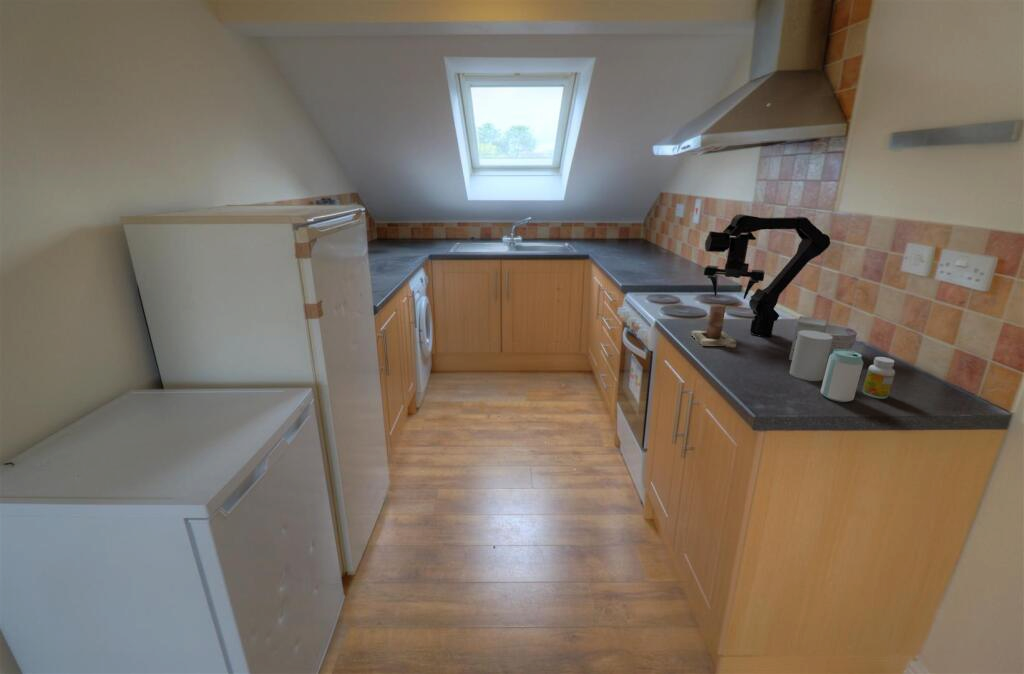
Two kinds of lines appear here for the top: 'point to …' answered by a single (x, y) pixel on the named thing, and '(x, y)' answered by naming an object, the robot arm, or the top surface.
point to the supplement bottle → (879, 378)
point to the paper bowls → (840, 337)
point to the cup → (810, 355)
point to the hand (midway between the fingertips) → (729, 297)
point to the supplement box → (807, 324)
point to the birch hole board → (702, 339)
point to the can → (842, 375)
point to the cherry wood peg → (715, 321)
